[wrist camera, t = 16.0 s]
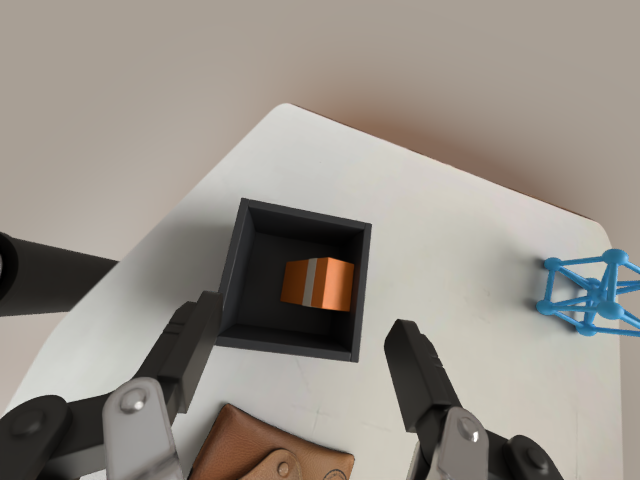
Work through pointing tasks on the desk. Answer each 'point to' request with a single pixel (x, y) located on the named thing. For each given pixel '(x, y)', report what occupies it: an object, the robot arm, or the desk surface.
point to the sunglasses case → (263, 453)
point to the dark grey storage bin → (268, 275)
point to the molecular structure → (593, 294)
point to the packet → (318, 283)
